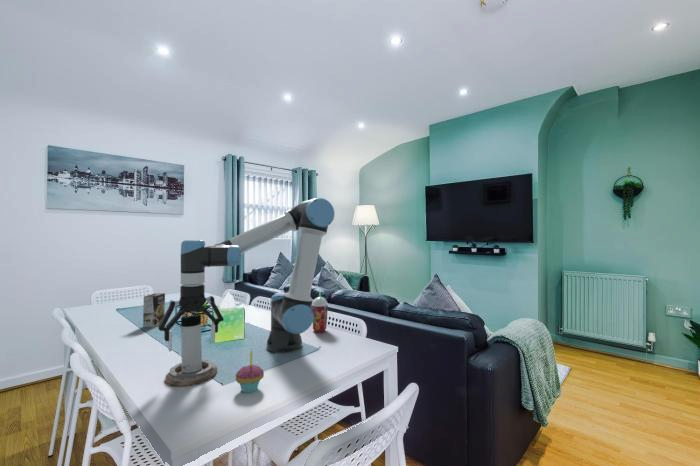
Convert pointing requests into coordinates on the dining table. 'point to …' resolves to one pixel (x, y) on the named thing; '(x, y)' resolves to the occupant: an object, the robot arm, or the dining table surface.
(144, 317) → the coffee box
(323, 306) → the smoothie
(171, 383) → the plate
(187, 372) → the travel mug
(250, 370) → the cupcake
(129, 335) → the dining table surface
